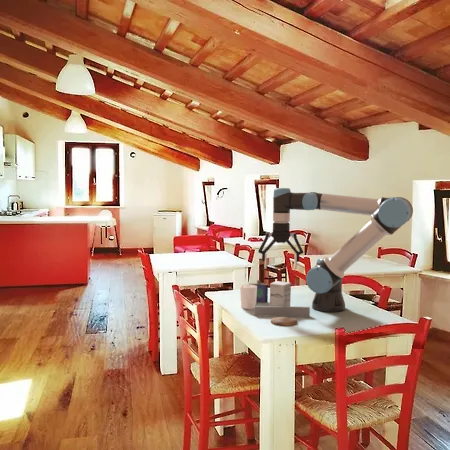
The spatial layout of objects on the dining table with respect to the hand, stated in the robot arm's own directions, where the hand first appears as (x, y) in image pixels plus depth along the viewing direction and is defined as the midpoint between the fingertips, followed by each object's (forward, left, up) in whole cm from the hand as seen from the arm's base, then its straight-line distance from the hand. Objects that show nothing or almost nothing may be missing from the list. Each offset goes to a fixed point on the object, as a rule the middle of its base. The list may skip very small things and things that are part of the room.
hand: (280, 268), depth 227 cm
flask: (+14, -11, -19) cm, 26 cm away
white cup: (+15, +1, -19) cm, 24 cm away
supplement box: (0, 0, -19) cm, 19 cm away
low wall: (-4, +10, -19) cm, 22 cm away
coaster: (-7, +19, -19) cm, 28 cm away
